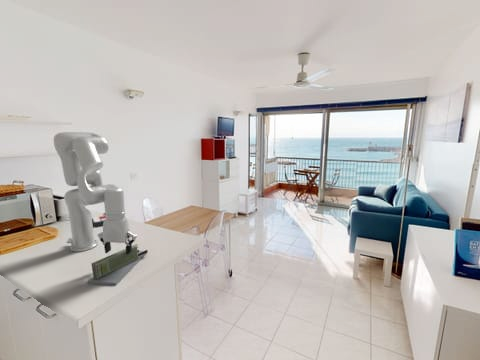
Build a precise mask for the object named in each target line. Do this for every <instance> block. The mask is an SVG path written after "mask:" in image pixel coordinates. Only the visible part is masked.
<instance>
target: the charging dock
mask: <svg viewBox="0 0 480 360" xmlns="http://www.w3.org/2000/svg"><path fill="white" fill-rule="evenodd" d="M143 251H144V250H143ZM143 251H141V250H139V252H138V254H139V253H141V252H143ZM146 255H148V252H147V253H145V254H143V255H141V256H139V257H140V258H138V259H137V260H135V261H133V262H131V263H129V264H127V265H125V266H123V267H121V268H119V269H117V270H115V271H112V272H110V273H108V274H106V275H104V276H102V277H100V278H98V279H94V278H93V276H92V277H90V278H89V279H88V280H87V282H86V283H87V284H88V285H107V286H108V285H109V286H110V285H112V286H117V285H118V284H119V283H120V282H121V281H122V280H123V279H124V278H125V277H126V276H127V275H128V274H129V273H130V272H131V271H132V269H134V267H135V266H137V265H138V263H140V261H141V260H143V258H144V257H145V256H146Z"/></svg>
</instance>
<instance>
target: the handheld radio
mask: <svg viewBox="0 0 480 360" xmlns="http://www.w3.org/2000/svg"><path fill="white" fill-rule="evenodd" d="M139 251H140V250H139V244H132V251H131V252H130V253H129V254H126V248H123V249H122V250H119V251H117V252H114V253H112V254H110V255H108V256H106V257H103V258H100V259H98V260H96V261H93V262H91V271H92V277H93V278H94V279H98V278H100V277H102V276H104V275H106V274H108V273H110V272H112V271H115V270H117V269H119V268H121V267H123V266H125V265H127V264H129V263H131V262H133V261H135V260H137V259H138V258H140V257H139V256H141V255H143V254H145V253H147V254H148V252H149V251H148V250H147V249H145V250H143V252H141V253H139V254H138V252H139Z"/></svg>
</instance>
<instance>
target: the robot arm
mask: <svg viewBox="0 0 480 360" xmlns="http://www.w3.org/2000/svg"><path fill="white" fill-rule="evenodd" d="M53 147H54V148H55V151H56V154H57V155H58V156H59V158H60V161H61V166H62V167H61V168H62V172H63V176H64V181H65V183H66V185H67V186H70V187H77V188H73V189H69V190H68V191H66V193H65V194H64V197H63V198H64V201H65V205H66V207H67V212H68V216H69V222H70V223H69V224H70V231H71V237H68V239H67V241H66V243H67V244H70V246H69V250H70V251H72V252H74V253H75V252H76V253H77V252H84V251H85V252H86V251H88V250H92V249H93V248H96V247H97V246H98V245H99V241H100V242H102V245H103V246H104V253H105V254H108V253H109V252H110V251H112V247H111V245H112V244H111V243H114V244H115V243H116V244H123V243H124V244H125V245H126V246H125V249H126V254H129V253H130V252H131V251H132V246H133V243H134V242H135V241H136V238H137V237H138V236H137V234H135V233H133V232H131V231H130V225H129V222H128V221H129V220H128V218H127V217H126V209H125V208H126V207H125V195H124V194H125V193H124V190H123V188H122V187H118V186H117V185H115V184H113V183H112V184H110V183H109V184H103V180H102V174H101V172H100V170H101V169H102V168H103V167H104V162H103V160H102V158H101V156H100V155H102V154H103V155H104V154H106V153H108V151H109V142H108V141H107V139H105V138H104V136H102V135H99V134H97V133H94V132H86V131H85V132H83V131H82V132H81V131H80V132H78V131H77V132H76V131H64V132H63V131H62V132H58V133H56V134H55V135H54V137H53ZM102 203H104V212H103V214H102V215H103V216H105V217H106V219H104V223H103V226H102V231H101V232H99V233H98V234H97V237H98V238H99V241H98V240H97V239H95V233H94V227H93V224H92V218H93V217H92V216H93V215H92V213H91V211H90V210H89V209H88V208H86V207H87V206H91V205H92V206H93V205H98V204H102Z"/></svg>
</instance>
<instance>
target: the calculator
mask: <svg viewBox="0 0 480 360" xmlns="http://www.w3.org/2000/svg"><path fill="white" fill-rule="evenodd" d="M104 219H106V217H105V216H97V217H92V224H93V228H94V227H95V228H99V227H98V226H100V227H103V223H104Z"/></svg>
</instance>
